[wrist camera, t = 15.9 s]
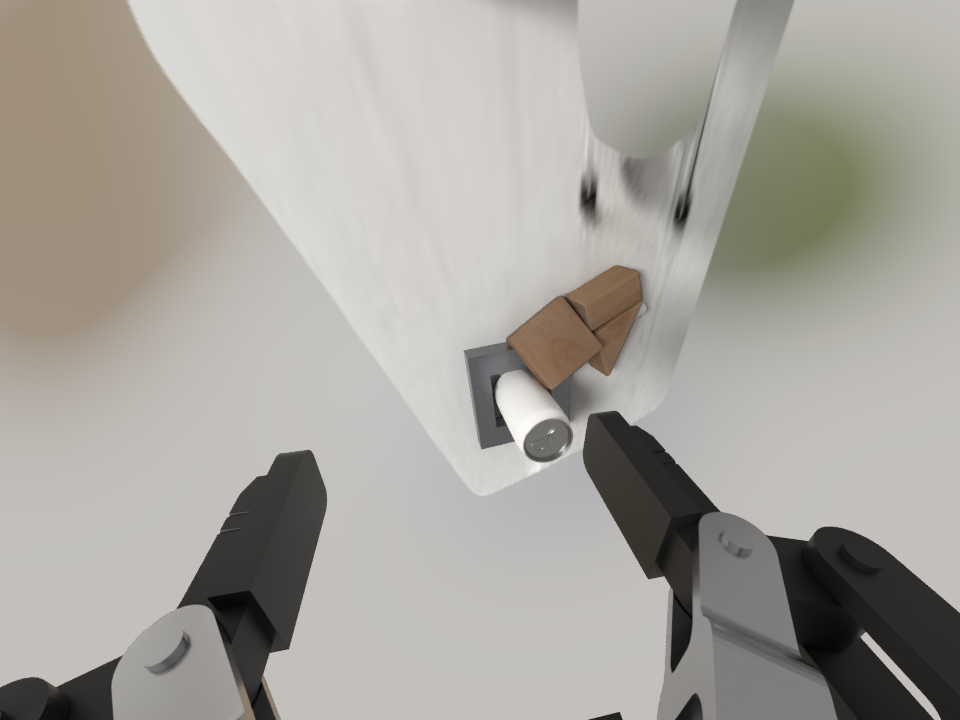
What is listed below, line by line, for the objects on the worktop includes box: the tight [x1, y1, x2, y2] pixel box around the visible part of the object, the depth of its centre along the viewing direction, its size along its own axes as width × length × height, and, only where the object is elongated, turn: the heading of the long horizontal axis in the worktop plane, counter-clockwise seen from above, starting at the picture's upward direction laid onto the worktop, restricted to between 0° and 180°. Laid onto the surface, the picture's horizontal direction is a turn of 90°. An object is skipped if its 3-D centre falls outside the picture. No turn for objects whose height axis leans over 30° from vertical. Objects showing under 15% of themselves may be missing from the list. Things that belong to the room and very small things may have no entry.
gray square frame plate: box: [464, 342, 570, 449], centre depth 46 cm, size 14×13×2 cm
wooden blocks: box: [506, 266, 647, 390], centre depth 43 cm, size 8×13×18 cm
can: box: [494, 369, 573, 462], centre depth 42 cm, size 6×6×12 cm
